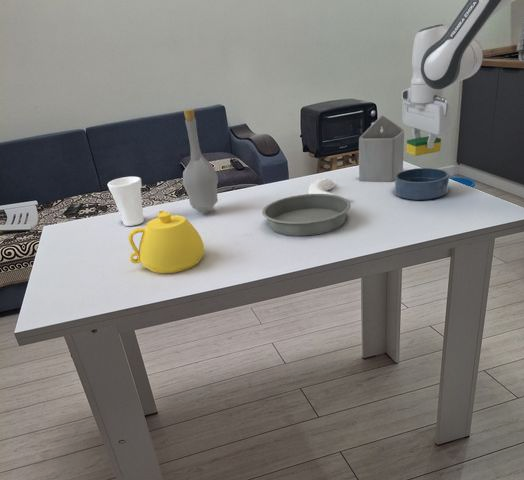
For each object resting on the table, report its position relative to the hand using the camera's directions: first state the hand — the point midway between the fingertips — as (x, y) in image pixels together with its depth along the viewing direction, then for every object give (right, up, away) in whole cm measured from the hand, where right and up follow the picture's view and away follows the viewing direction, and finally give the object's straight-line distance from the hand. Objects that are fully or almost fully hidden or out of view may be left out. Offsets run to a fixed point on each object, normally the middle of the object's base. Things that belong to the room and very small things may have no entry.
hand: (423, 146), depth 155 cm
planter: (-5, -2, +24) cm, 24 cm away
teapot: (-71, -36, -16) cm, 81 cm away
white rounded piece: (-24, -11, +14) cm, 30 cm away
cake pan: (-34, -23, -3) cm, 41 cm away
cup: (-87, -20, +12) cm, 90 cm away
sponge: (0, -1, +1) cm, 2 cm away
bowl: (+2, -11, +8) cm, 14 cm away
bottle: (-64, -16, +13) cm, 68 cm away
